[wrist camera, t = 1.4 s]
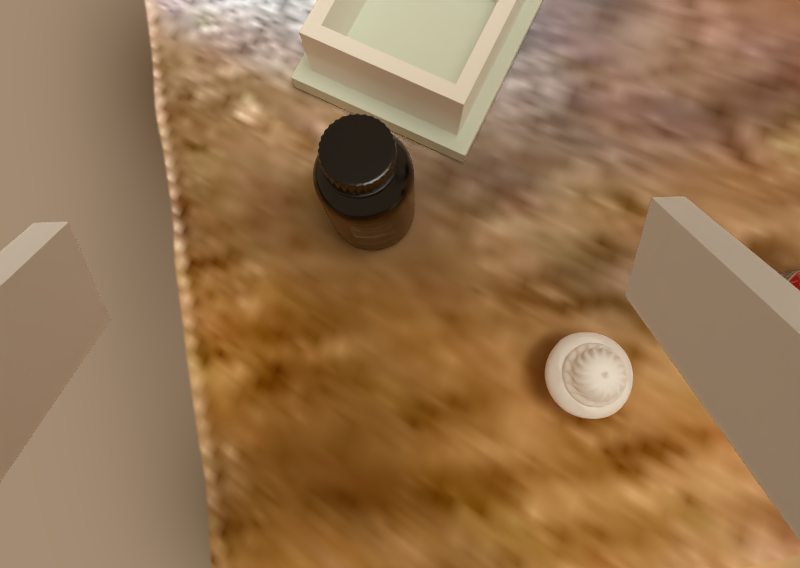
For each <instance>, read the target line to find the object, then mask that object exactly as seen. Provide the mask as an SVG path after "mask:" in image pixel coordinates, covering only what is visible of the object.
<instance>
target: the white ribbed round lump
mask: <svg viewBox="0 0 800 568" xmlns="http://www.w3.org/2000/svg"><path fill="white" fill-rule="evenodd" d="M545 381H546V385H547V388H548V391H549V393H550V395H551V396H552V398H553V399H554V401H555V402H556V403H557V404H558V405H559V406H560V407H561V408H562V409H563V410H565V411H566V412H568V413H570V414H572V415H574V416H577V417H581V418H588V419H598V418H604V417H608V416H610V415H612V414H614V413H615V412H617V411H618V410H619V409H620V408H621V407H622V406H623V405H624V404H625V402H626V401H627V399H628V397H629V395H630V393H631V389H632V384H633V371H632V366H631V363H630V360H629V358H628V356H627V354H626V353H625V351H624V350H623V349H622V348H621V347H620V346H619V345H618V344H617V343H616V342H615V341H613V340H612V339H610V338H609V337H607V336H604V335H602V334H598V333H593V332H578V333H573V334H570V335H568V336H566V337H564V338H562V339H561V340H560V341H559V342H558V343H557V344H556V345H555V346H554V348H553V349H552V351H551V352H550V354H549V357H548V359H547V362H546V366H545Z"/></svg>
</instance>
